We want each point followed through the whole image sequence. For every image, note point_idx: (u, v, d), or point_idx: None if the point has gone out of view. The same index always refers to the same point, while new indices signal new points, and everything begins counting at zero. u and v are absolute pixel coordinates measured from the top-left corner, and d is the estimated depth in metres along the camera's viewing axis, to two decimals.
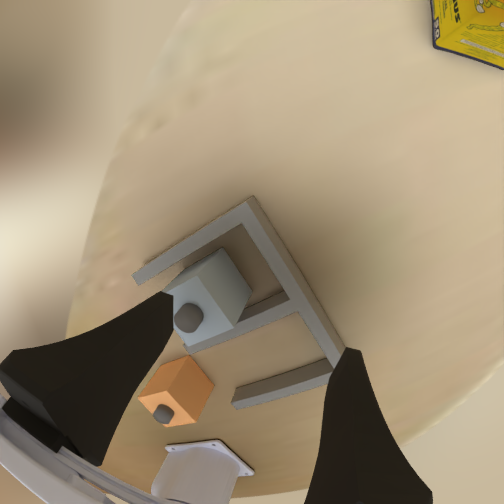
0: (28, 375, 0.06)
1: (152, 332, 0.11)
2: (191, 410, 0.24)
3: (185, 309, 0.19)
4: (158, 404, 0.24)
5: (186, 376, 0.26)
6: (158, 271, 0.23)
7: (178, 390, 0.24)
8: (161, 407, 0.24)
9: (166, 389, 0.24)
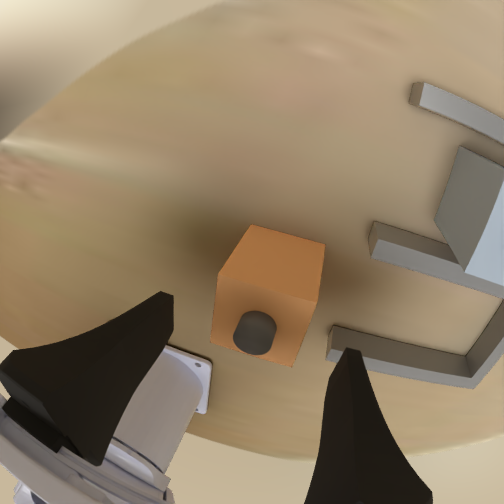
0: (28, 375, 0.06)
1: (152, 332, 0.11)
2: None
3: None
4: (257, 310, 0.13)
5: None
6: (472, 125, 0.10)
7: None
8: (266, 321, 0.13)
9: (312, 297, 0.12)
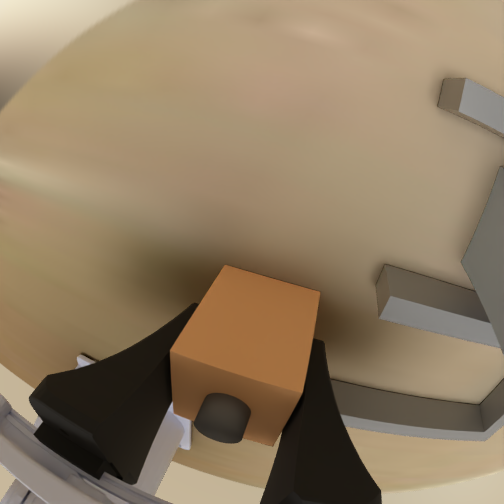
0: (71, 404, 0.06)
1: None
2: None
3: None
4: (224, 393, 0.09)
5: None
6: None
7: None
8: (236, 409, 0.09)
9: (296, 384, 0.09)
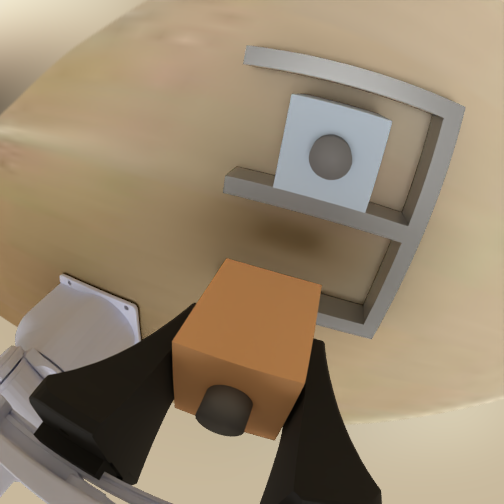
0: (70, 403, 0.06)
1: None
2: None
3: (346, 144, 0.11)
4: (226, 385, 0.09)
5: None
6: (294, 69, 0.13)
7: None
8: (238, 400, 0.09)
9: (299, 374, 0.09)
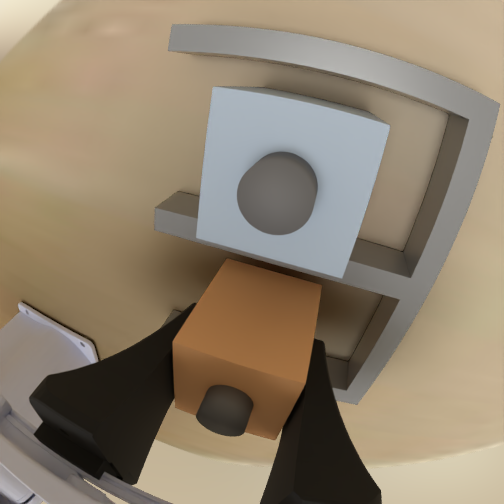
0: (70, 404, 0.06)
1: None
2: None
3: (304, 171, 0.06)
4: (227, 385, 0.09)
5: None
6: (237, 51, 0.08)
7: None
8: (238, 400, 0.09)
9: (299, 374, 0.09)
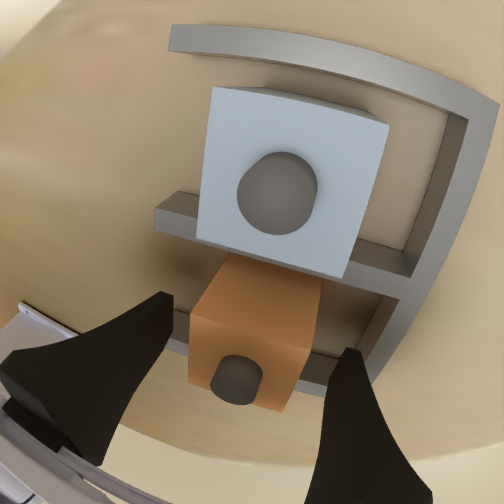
0: (28, 375, 0.06)
1: (152, 332, 0.11)
2: None
3: (304, 171, 0.06)
4: (239, 355, 0.10)
5: None
6: (237, 52, 0.08)
7: None
8: (249, 369, 0.10)
9: (305, 342, 0.10)
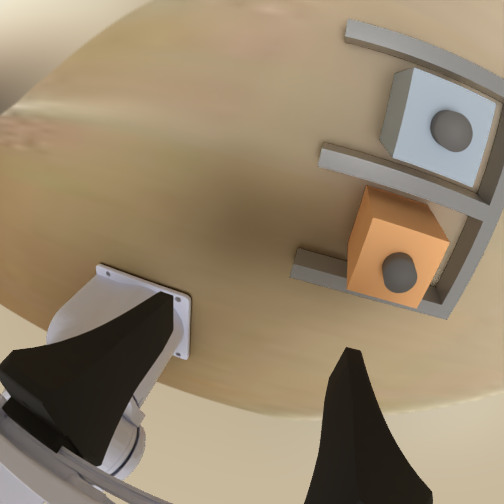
0: (28, 375, 0.06)
1: (152, 332, 0.11)
2: None
3: (467, 119, 0.09)
4: (401, 251, 0.14)
5: None
6: (395, 48, 0.12)
7: None
8: (410, 260, 0.13)
9: (444, 238, 0.13)
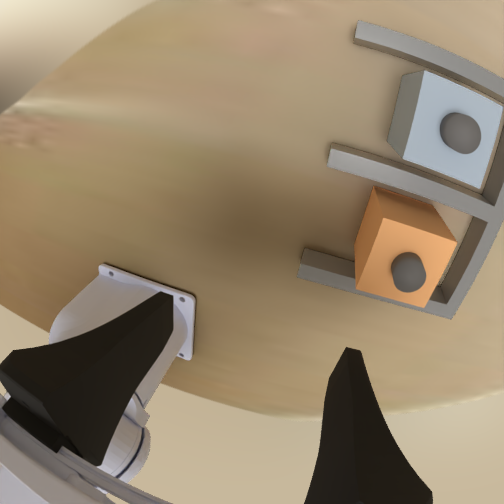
0: (28, 375, 0.06)
1: (152, 332, 0.11)
2: None
3: (475, 122, 0.09)
4: (410, 251, 0.13)
5: None
6: (404, 50, 0.12)
7: None
8: (419, 260, 0.13)
9: (452, 238, 0.13)
